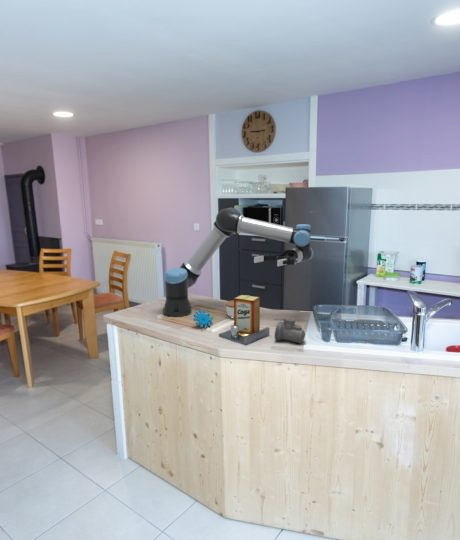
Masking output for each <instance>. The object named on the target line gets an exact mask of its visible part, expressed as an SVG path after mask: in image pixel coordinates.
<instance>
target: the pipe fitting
mask: <svg viewBox="0 0 460 540" xmlns="http://www.w3.org/2000/svg"><path fill="white" fill-rule="evenodd" d="M295 323H296V319H295V318H292V317H289V316H288V317H287V316H285V317H283V321H281V320H280V321H278V322H277V323H276V327H275V330H274V339H275V340H277V341H282V340H285V341H290V342H292V343H293V342H294V343H295V344H302V343H303V342H304V340H305V337H306V332H305V329H303V328H302V326H301V325H297V324H295Z"/></svg>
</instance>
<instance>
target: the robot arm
mask: <svg viewBox="0 0 460 540" xmlns="http://www.w3.org/2000/svg"><path fill="white" fill-rule="evenodd" d="M311 228H312V227H311V224H307V223H306V224H305V223H304V224H303V223H300V224H296V227H295V228H294V227H290V226H285V225H282V224H277V223H273V222H269V221H264V220H261V219H260V220H259V219H256V218H255V219H254V218H250V217H245V216H244V215H243V214H242V213H241V211H239V210H238V209H237V208H234V207H227V208H223V209H221V210H220V211H218V212H217V215H216V217H215V221H214V222H213V228H212V230H211V231H210V232H209V234H208V235H207V236H206V237H205V239H204V240H202V243H200V245H199V247H198V248H197V249H196V251H195V252H194V253H192V254H193V255H192V256H191V257H190V258H189V260H185V261H183V263H182V264H181V265H180V267H175V268H170V269H167V271H165V276H164V281H165V282H164V283H165V302H164V306H163V310H162V311H163V312H162V313H163V315H164V314H166V315H169V316H168V317H171V316H179V317H184V316H183V315H186V316H188V315H187V314H189V315H191V314H192V313H193V311H192V306H191V304H190V300H189V291H188V289H189V288H190V287H193V286H194V285H195V284H196V283H197V281H198V278H199V277H200V276H201V275H202V269H203V268H204V267H205V265H206V264H207V263H208V262H209V260H210V259H211V258H212V257H213V255H214V254H215V252H217V250H218V248H219V247H221V246H222V244H223V243H224V241H225V240H226V239H227V238H230V237H232V236H233V234H234V233H236V234H240V233H245V234H248V235H254V236H258V237H261V238H266V239H269V240H270V239H271V240H274V241H275V240H276V241H280V242H285V243H287V244H293V245H295V247H294V248H290V249H285V250H284V251H283V252H282V253H273V254H272V253H270V254H259V255H258V256H254V257H253V263H254V264H256V263H263V262H265V261H266V262H267V261H268V262H269V261H272V262H273V261H274V262H276V263H277V264H276V266H277V267H281V266H285V265H287V266H289V265H292V266H294V265H297V264H298V263H305V262H308V261H310V260H312V258H313V257H314V256H315V255H314V250H313V249H312V247H311V233H312V232H311V231H312V229H311ZM190 313H191V314H190ZM166 315H165V316H166Z"/></svg>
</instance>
